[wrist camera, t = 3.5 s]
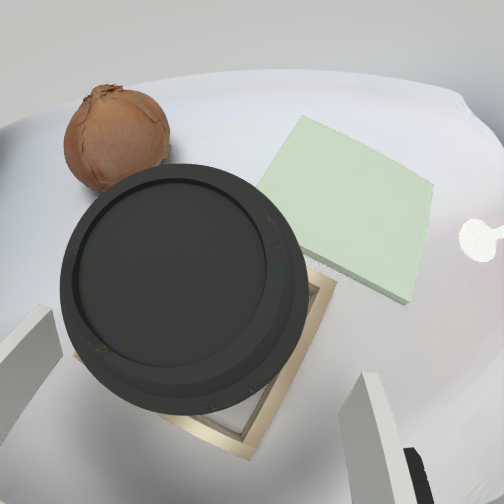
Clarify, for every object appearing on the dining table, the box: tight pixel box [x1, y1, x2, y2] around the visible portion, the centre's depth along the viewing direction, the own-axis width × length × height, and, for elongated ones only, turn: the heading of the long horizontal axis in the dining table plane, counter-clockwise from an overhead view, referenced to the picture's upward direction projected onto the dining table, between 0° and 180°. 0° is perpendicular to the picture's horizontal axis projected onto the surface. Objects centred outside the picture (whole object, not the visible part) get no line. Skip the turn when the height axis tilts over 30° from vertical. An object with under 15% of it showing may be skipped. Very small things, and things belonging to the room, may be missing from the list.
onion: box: [64, 84, 171, 192], centre depth 22 cm, size 10×9×10 cm
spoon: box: [458, 219, 504, 263], centre depth 28 cm, size 5×18×1 cm, turn 104°
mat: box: [256, 115, 434, 305], centre depth 26 cm, size 16×14×1 cm
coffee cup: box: [60, 164, 309, 416], centre depth 15 cm, size 9×9×15 cm
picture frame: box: [73, 266, 337, 461], centre depth 21 cm, size 14×14×2 cm
